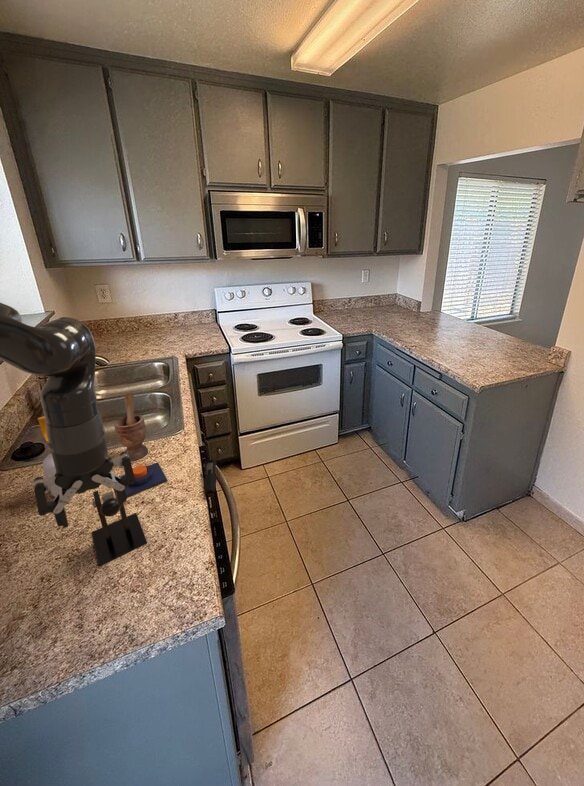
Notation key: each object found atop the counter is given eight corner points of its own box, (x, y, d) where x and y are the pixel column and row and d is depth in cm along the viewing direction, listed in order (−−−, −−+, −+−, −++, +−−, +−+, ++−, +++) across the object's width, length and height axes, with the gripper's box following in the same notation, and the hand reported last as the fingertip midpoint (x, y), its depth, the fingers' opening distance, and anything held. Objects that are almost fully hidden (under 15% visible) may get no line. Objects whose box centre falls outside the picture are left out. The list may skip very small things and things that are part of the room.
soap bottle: (56, 503, 99) (30, 426, 91) (48, 488, 105) (23, 414, 97) (92, 486, 105) (71, 413, 97) (83, 473, 111) (62, 403, 103)
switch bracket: (148, 547, 85) (136, 497, 80) (100, 570, 79) (83, 519, 74) (137, 516, 94) (125, 470, 89) (93, 536, 88) (78, 488, 83)
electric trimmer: (203, 500, 100) (201, 491, 99) (204, 465, 114) (203, 457, 113) (217, 497, 101) (215, 488, 100) (216, 463, 115) (215, 455, 114)
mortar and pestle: (118, 449, 123) (105, 397, 117) (145, 440, 128) (134, 389, 121) (124, 465, 115) (111, 410, 108) (153, 455, 120) (142, 402, 113)
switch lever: (123, 513, 74) (118, 496, 74) (103, 521, 72) (98, 504, 72) (118, 501, 85) (114, 487, 85) (101, 508, 82) (97, 493, 82)
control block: (123, 503, 99) (119, 491, 98) (116, 484, 106) (113, 472, 105) (167, 484, 106) (165, 473, 104) (159, 467, 113) (156, 457, 112)
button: (133, 480, 102) (132, 475, 102) (131, 473, 105) (129, 468, 105) (148, 474, 105) (147, 470, 104) (145, 468, 108) (144, 463, 107)
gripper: (121, 416, 66) (132, 486, 72) (22, 441, 57) (44, 517, 63) (130, 437, 60) (141, 510, 66) (22, 467, 52) (46, 548, 58)
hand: (94, 513), depth 65 cm, fingers open, 8 cm apart
